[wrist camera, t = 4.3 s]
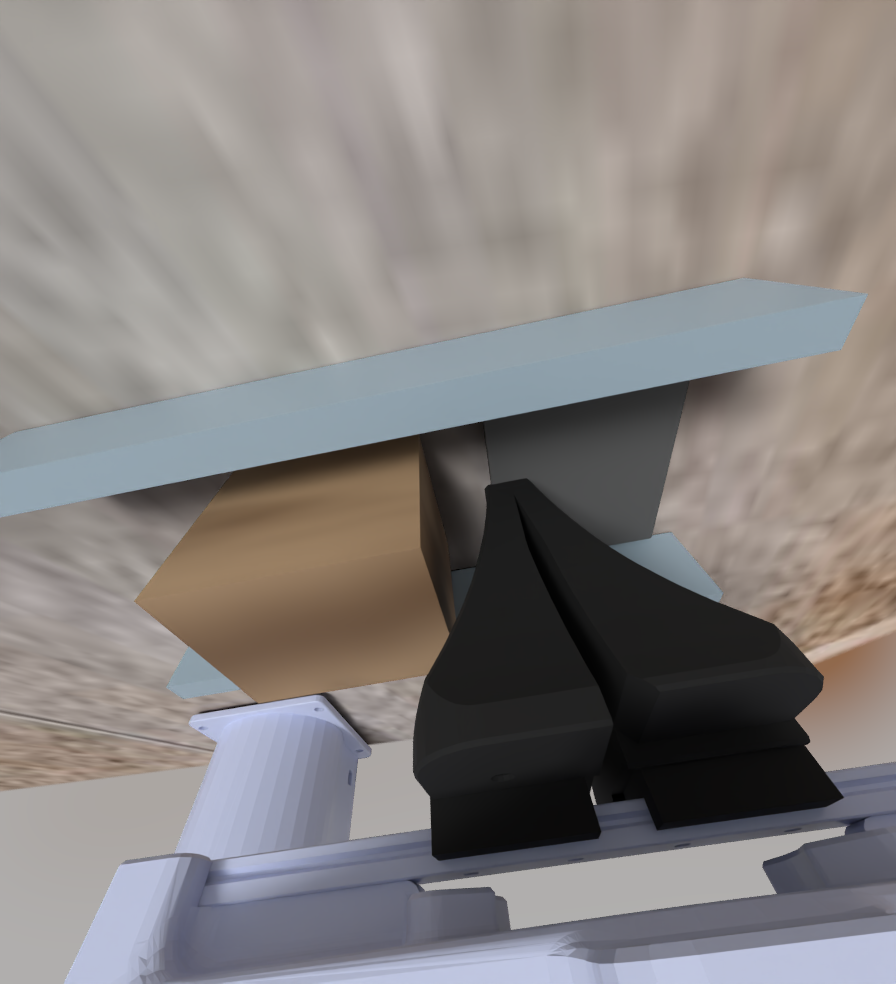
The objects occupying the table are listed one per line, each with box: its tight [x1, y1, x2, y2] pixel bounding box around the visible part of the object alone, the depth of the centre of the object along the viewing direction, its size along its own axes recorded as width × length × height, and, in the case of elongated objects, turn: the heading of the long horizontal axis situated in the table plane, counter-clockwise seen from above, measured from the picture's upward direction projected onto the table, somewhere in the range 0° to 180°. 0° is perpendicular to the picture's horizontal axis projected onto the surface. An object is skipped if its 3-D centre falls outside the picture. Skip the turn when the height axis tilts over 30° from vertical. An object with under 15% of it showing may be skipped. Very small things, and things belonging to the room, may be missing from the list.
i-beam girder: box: [0, 278, 868, 699], centre depth 11 cm, size 10×20×3 cm, turn 100°
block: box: [134, 434, 456, 703], centre depth 10 cm, size 5×6×5 cm
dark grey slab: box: [483, 380, 689, 546], centre depth 12 cm, size 8×6×1 cm
